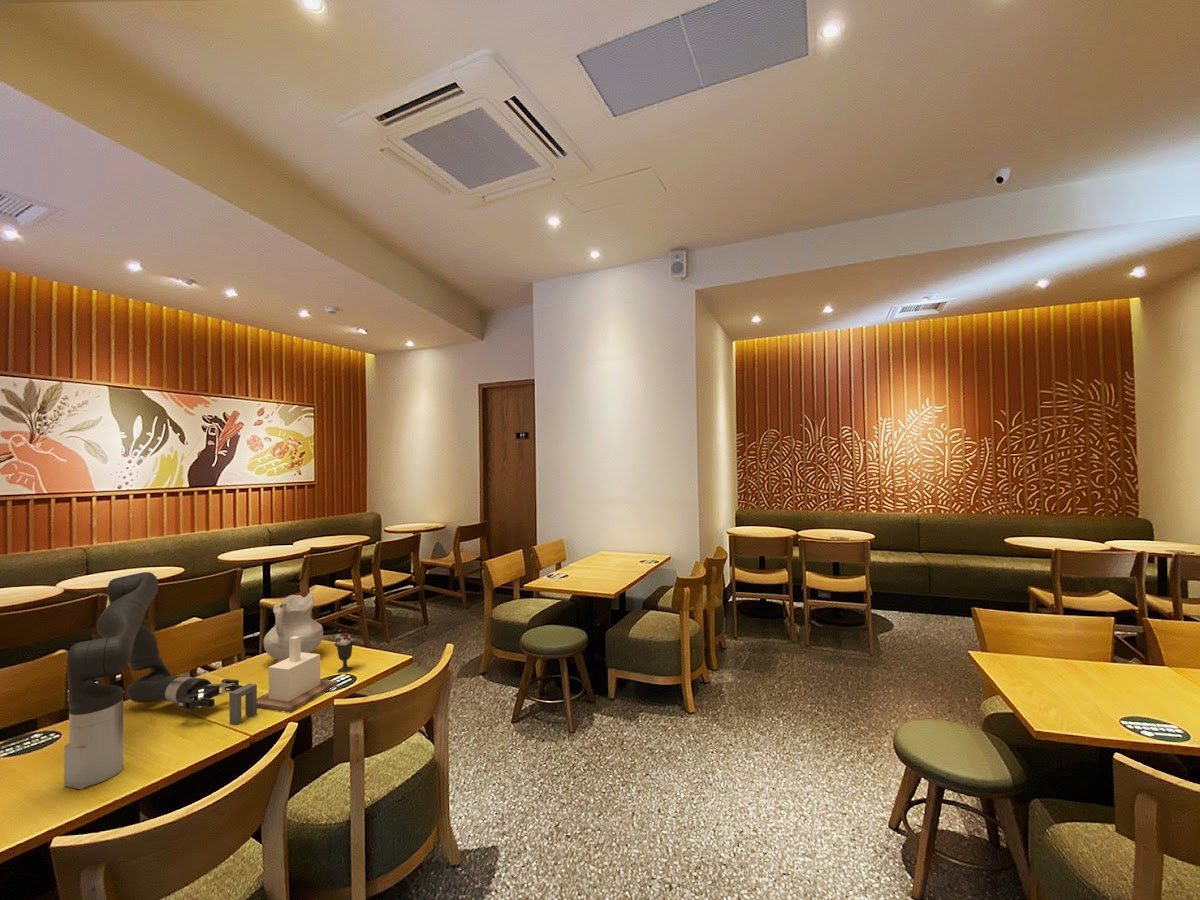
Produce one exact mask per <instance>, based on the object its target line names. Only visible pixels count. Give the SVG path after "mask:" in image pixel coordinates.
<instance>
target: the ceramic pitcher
mask: <svg viewBox="0 0 1200 900" xmlns="http://www.w3.org/2000/svg"><path fill="white" fill-rule="evenodd" d="M314 596H315V595H314V593H313V592H307V595H306V596H302V595H297V594H296V595H295V594H291V595H288V596H286V597H285V598H284V599H283V600H282V602H281V604H274V605H273V608H272V612H273V614H274V617H275V621H274V622H275V623H274V626H273V627H272V628H271V629H270V630H269V631H268V632H267V633H266V634H265V636H264V638H263V648H264V651H265V652H266V654H267V655H269V656H270V657H271V658H272V659H275V660H277V661H276V663H279V662H281V661H283V660H285V659H287V658H289V638H291V637H294V636H299V637H300V646H301V652H304V653H313V652H314V651H316V649H317V648H319V646H320V644H321V642H323V641H322V640H323V637H324V629H323V625H322V624H321V623H319V622H317V621H315V620H314V619H313V618H312V617H311V616H312V615H311V614H312V609H313V608H314V606H315V597H314ZM276 663H275V664H276Z"/></svg>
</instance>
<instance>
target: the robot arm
mask: <svg viewBox="0 0 1200 900" xmlns="http://www.w3.org/2000/svg"><path fill="white" fill-rule="evenodd" d="M158 590H159V581H158V577H157V576H156V575H155V574H154V573H152V572H150V571H145V572H138V573H133V574H129V575H125V576H119V577H116V578H112V579H111V580H110V581H109V582H108V585H107V595H108V596H107V599H108V601H109V605H107V606H106V607H104V608H105V609H103V611H101V612H102V613H101V614H100V617H99V618H98V620H97V622H96V630H97V633H98V635H100V637H101V638H99V639H98V638H97V639H92V640H85V641H79V642H77V643H74V644H73V645H71V647H70V648H69V651H68V653H67V656H66V674H67V687H68V688H67V689H68V710H69V711H68V725H69V726H68V743H67V744H65V745H64V746H63V750H64V751H63V760H64V761H63V765H64V766H63V779H64V781H63V783H64V784H63V786H65V787H69V788H72V789H76V790H83V789H85V788H88V787H90V786H94V785H96V784H99V783H102V782H105V781H107V780H109V779H111V778H113V777H115V776H116V775H118V774H119V773H120V772H121V771H122V770H123V768H124V689H123V688H122V686H119V685H114V684H104V683H99V682H95V681H94V679H99V678H106V677H109V676H114V675H117V674H120V673H122V672H123V671H125V670H126V668H127V667H128V665H129V667H130V670H132V671H135V672H139V671H143V670H149V672H150V673H147V674H145V675H143V676H142V677H139V678H136V679H135V680H133V681H132V682H131V683H129V685H128V686H127V689H126V696H127V697H128V699H129V700H131V701H132V702H134V703H138V704H139V703H140V704H143V703H144V704H146V703H154V702H159V701H165V702H169V703H174V704H175V705H177V704H178V709H182V710H185V711H194V710H195V709H196V708H198V709H199V708H202V707H205V708H213V707H214V706H215V699H214V698H215V697H221V696H222V697H223V696H225V695H226V694H228V693H230V692H232V691H234V690H236V689H238V688H241V687H243V686H244V685H242V684H241V685H239V682H240V680H239V679H230V678H224V679H221V682H219V683H211V681H210V680H208V679H206V678H200V677H192V676H177V675H172V674H171V672H170V670H169V669H168V668H167V665H165V663H164V661H163V659H162V658H161V655H160V649H159V645H158V641H157V638H156V636H155V633H153V632H152V631H151V630H150V629H149V628H148V627H147V626H144V624H143V622H144V620H145V616H146V613H147V610H148V608H149V606H150V605H151V604H152V602H153V600H154V599H155V598H156V596H157V594H158ZM220 689H221V692H220Z"/></svg>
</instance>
